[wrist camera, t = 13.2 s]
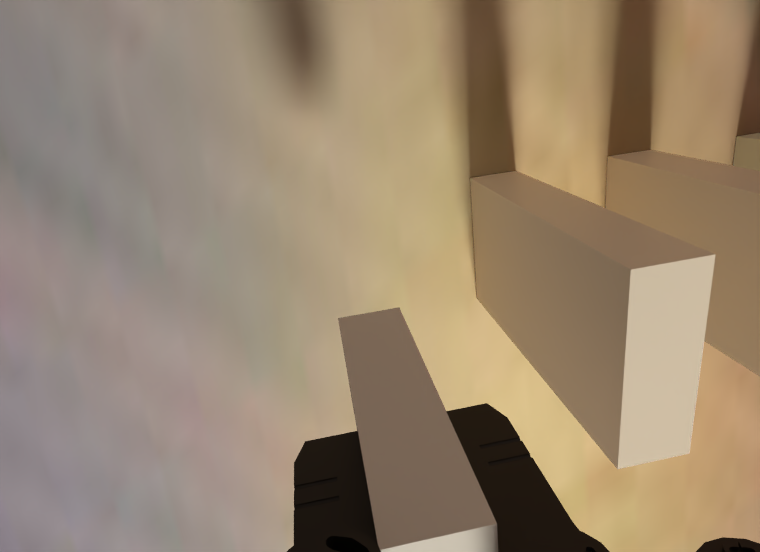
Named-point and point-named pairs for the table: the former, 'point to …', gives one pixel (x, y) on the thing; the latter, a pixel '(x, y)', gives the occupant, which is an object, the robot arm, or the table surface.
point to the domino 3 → (747, 151)
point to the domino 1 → (596, 310)
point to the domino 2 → (702, 232)
